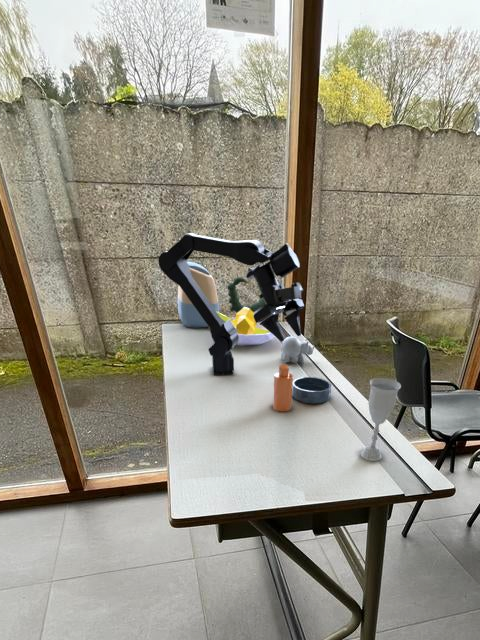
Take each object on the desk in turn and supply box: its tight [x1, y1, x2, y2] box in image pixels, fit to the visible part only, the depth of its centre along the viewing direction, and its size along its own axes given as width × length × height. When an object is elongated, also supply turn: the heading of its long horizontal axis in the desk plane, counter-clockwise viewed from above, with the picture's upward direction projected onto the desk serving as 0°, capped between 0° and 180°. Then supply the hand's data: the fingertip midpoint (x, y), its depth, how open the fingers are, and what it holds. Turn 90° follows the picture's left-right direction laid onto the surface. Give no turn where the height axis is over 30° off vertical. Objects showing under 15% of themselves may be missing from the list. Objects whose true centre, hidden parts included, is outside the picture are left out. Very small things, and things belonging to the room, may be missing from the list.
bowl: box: [292, 376, 332, 405], centre depth 132 cm, size 12×12×4 cm
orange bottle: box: [272, 364, 294, 412], centre depth 122 cm, size 5×5×12 cm
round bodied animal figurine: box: [280, 335, 315, 364], centre depth 156 cm, size 7×12×8 cm, turn 98°
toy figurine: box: [227, 276, 277, 314], centre depth 194 cm, size 9×19×25 cm
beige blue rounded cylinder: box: [177, 261, 220, 328], centre depth 184 cm, size 17×17×23 cm
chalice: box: [360, 377, 402, 462], centre depth 100 cm, size 7×7×18 cm
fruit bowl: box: [216, 307, 275, 347], centre depth 172 cm, size 28×27×11 cm
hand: (291, 338), depth 130 cm, fingers open, 9 cm apart
